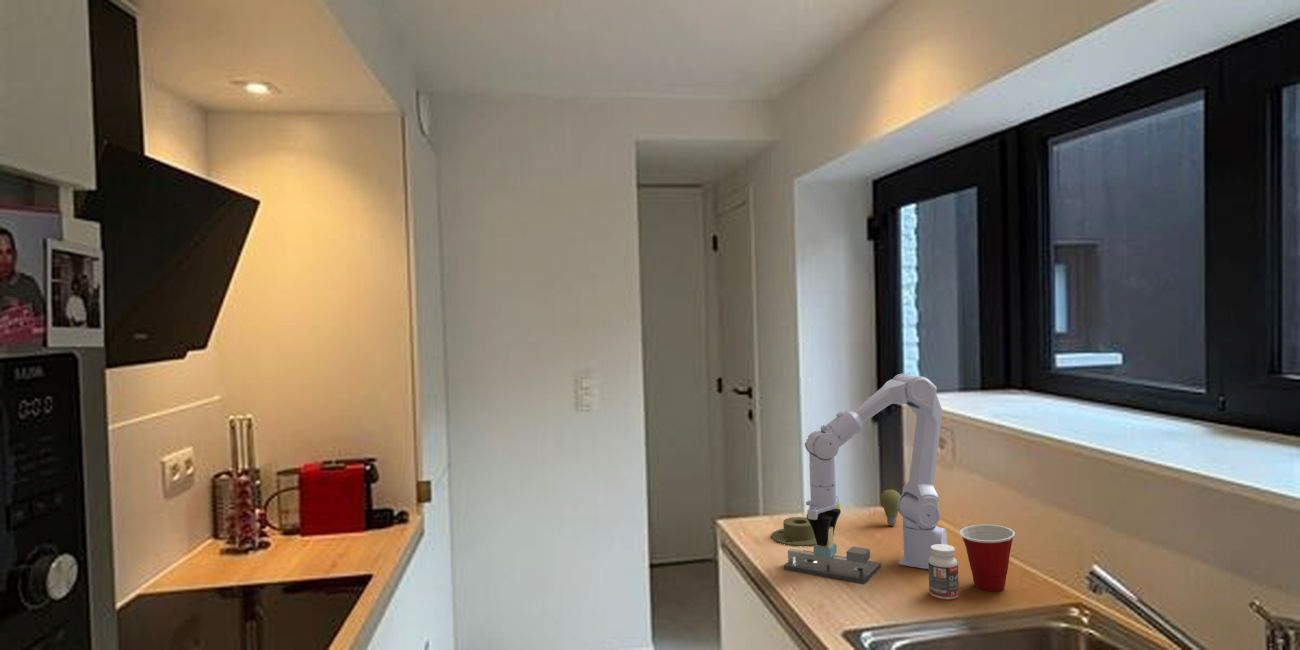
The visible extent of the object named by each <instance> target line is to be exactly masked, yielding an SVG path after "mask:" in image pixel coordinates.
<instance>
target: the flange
mask: <svg viewBox="0 0 1300 650" xmlns="http://www.w3.org/2000/svg"><path fill="white" fill-rule="evenodd" d="M770 537H771V539H773V540H774V542H775V541H776V542H775V543H777V542H778V543H777V544H780V543H781V544H780V545H783V544H785V545H784V546H788V545H791V546H790V547H796V546H809V547H813V546H814V545H816V539H815V535H814V532H813V529H812V526H811V524H810V523H809V521H808V519H807V517H806V516H805V517H803V516H793V517H792V516H791V517H788V518H785V519H783V528H780V529H779V528H778V529H776V530H775V531H773V532H771V535H770ZM773 540H772V541H773Z"/></svg>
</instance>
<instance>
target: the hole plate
mask: <svg viewBox="0 0 1300 650" xmlns="http://www.w3.org/2000/svg"><path fill="white" fill-rule="evenodd" d="M802 551H807V552H813V553H814V551H809V550H806V549H805V550H804V549H803V550H802ZM833 556H838V557H844V558H847V556H842V555H841V556H840V555H836V554H834V555H833ZM868 561H869V562H870V571H871V573H870V574H869V575H863V569H859V568H857V567H851V566H845V565H840V564H834V563H826V562H822V561H816V560H810V559H804V558H798V557H796V561H794V562H788V561H787V562H785V564H783V570H784V571H785V570H786V571H791V572H795V573H801V574H808V575H812V576H818V577H824V578H828V577H829V579H833V578H834V580H839V581H844V580H845V582H851V583H855V584H861V585H865V584H866V583H867V582H868V581H869V580H870V579H871V578H873V576H874V575H876V573H877V572H878V571H879V570H881V568H882V563H881V562H878V561H871V560H868ZM877 570H878V571H877Z"/></svg>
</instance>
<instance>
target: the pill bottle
mask: <svg viewBox="0 0 1300 650" xmlns="http://www.w3.org/2000/svg"><path fill="white" fill-rule="evenodd" d="M931 553H932V556H930V558H929V560H928V566H929V569H928V592H929V593H930V595H931V596H932V597H934V598H936V599H941V600H954V599H955V600H956V598H958V597H959V589H960V588H959V587H960V586H959V563H958V560H957V559H956V558H955V555H956V549H955V547H954V546H952V545H951V544H947V545H946V544H935V545H932V546H931Z"/></svg>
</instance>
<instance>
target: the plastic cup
mask: <svg viewBox="0 0 1300 650" xmlns="http://www.w3.org/2000/svg"><path fill="white" fill-rule="evenodd" d="M1015 534H1016V532H1015V531H1014V530H1013V529H1011V528H1009V527H1006V526H1002V525H996V524H973V525H968V526H964V527H962V528H961V529H960V530H959V535H960V536H961V538H962V541H963V544H964V546H965V549H966V554H967V557H968V561H969V562H968V564H969V568H970V570H971V576H972V580H973V583H974V586H975V587H976V588H977V589H979V590H982V591H986V592H1001V591H1004V589H1005V587H1006V581H1007V580H1006V579H1007V575H1008V570H1009V562H1010V555H1011V549H1012V543H1013V540H1014V538H1015Z"/></svg>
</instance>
